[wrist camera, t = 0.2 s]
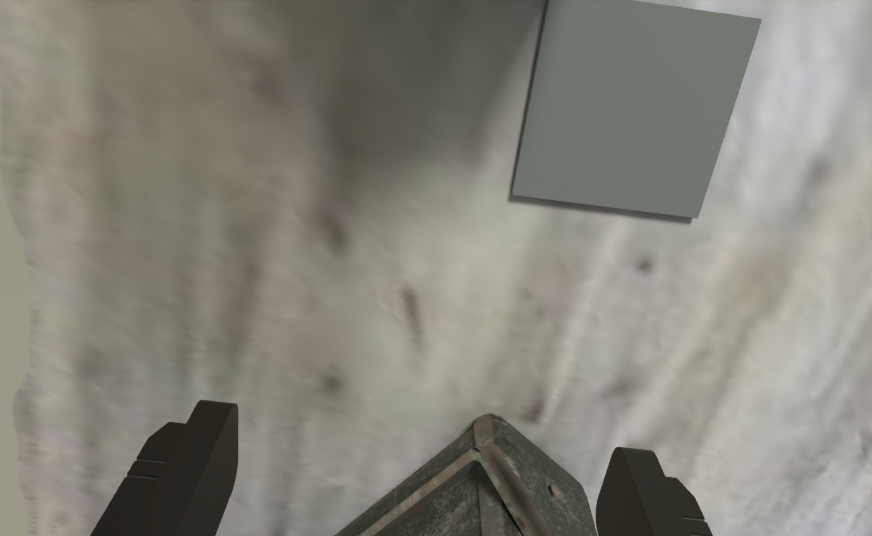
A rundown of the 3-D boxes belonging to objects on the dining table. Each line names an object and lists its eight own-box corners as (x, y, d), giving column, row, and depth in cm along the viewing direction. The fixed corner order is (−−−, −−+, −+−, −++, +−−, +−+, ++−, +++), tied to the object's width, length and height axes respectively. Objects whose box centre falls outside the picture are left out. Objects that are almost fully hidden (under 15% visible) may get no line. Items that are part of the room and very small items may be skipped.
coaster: (549, -12, 37) (551, -11, 36) (757, 18, 37) (761, 19, 37) (511, 191, 42) (512, 195, 41) (694, 215, 43) (697, 218, 42)
